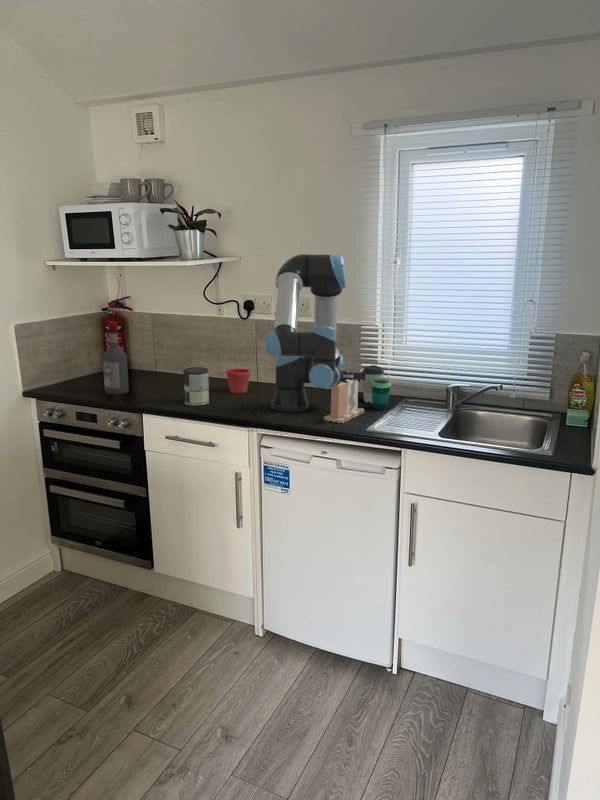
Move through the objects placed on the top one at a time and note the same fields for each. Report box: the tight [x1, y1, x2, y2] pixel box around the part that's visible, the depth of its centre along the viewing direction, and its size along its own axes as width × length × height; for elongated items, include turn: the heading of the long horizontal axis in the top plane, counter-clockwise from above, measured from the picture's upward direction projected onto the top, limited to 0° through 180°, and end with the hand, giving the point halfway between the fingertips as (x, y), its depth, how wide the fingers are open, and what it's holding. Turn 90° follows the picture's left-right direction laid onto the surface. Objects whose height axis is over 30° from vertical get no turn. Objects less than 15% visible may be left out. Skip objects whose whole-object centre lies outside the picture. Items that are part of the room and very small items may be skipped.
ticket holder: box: [323, 380, 365, 424], centre depth 238 cm, size 19×8×14 cm, turn 149°
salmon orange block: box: [330, 382, 347, 417], centre depth 233 cm, size 7×3×12 cm, turn 149°
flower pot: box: [226, 368, 251, 394], centre depth 277 cm, size 11×11×10 cm
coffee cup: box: [362, 364, 385, 404], centre depth 262 cm, size 9×9×15 cm
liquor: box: [102, 324, 130, 396], centre depth 271 cm, size 9×9×30 cm
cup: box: [371, 377, 392, 410], centre depth 251 cm, size 8×8×12 cm
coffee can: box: [182, 366, 210, 406], centre depth 257 cm, size 10×10×14 cm
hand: (340, 375), depth 225 cm, fingers open, 13 cm apart
